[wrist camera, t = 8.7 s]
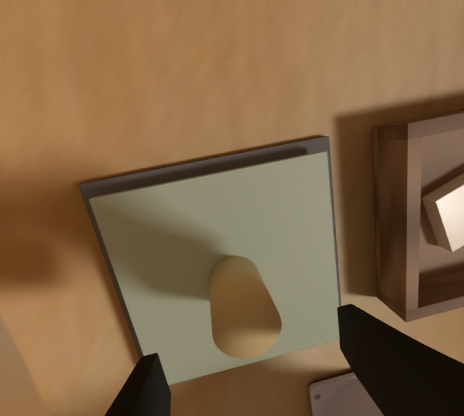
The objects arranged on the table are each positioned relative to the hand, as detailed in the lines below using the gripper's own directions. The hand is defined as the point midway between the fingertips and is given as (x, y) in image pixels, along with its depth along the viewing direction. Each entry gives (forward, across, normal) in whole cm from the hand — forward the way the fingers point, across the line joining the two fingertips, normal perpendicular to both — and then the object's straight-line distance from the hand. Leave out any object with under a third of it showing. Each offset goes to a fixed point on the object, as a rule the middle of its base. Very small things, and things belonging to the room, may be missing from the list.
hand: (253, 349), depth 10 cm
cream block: (+6, -16, -1) cm, 17 cm away
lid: (+6, 0, 0) cm, 6 cm away
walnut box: (+7, -16, -1) cm, 17 cm away
